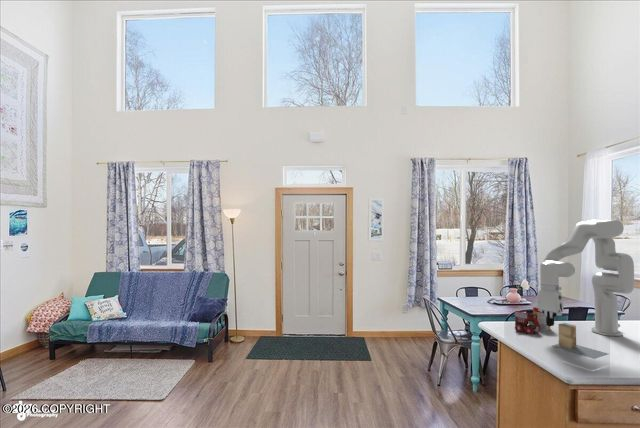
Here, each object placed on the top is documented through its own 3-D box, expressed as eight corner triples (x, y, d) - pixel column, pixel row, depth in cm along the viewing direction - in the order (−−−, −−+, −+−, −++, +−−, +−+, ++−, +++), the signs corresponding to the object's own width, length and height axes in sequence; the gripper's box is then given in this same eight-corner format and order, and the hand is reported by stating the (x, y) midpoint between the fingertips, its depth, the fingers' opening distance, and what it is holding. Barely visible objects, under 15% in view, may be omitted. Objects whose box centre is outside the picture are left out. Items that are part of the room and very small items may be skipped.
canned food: (547, 327, 200) (546, 305, 200) (552, 331, 192) (552, 308, 193) (531, 326, 202) (531, 304, 202) (536, 330, 194) (536, 308, 194)
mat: (565, 342, 175) (565, 341, 175) (609, 354, 159) (609, 353, 159) (551, 346, 169) (551, 345, 169) (594, 359, 153) (594, 358, 153)
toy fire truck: (536, 336, 184) (536, 316, 184) (511, 330, 194) (511, 311, 194) (542, 334, 188) (542, 314, 188) (517, 328, 198) (517, 309, 198)
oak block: (565, 343, 172) (564, 322, 172) (576, 347, 167) (575, 325, 168) (558, 345, 170) (558, 323, 170) (570, 348, 165) (569, 326, 165)
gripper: (570, 289, 171) (571, 328, 171) (539, 284, 184) (539, 320, 184) (561, 291, 168) (561, 330, 167) (529, 286, 181) (530, 322, 181)
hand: (550, 325), depth 176 cm, fingers closed
